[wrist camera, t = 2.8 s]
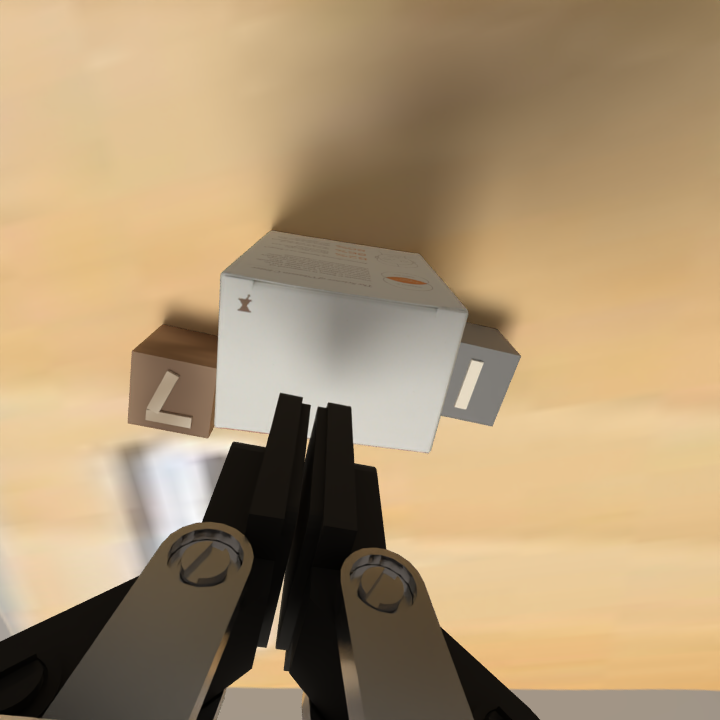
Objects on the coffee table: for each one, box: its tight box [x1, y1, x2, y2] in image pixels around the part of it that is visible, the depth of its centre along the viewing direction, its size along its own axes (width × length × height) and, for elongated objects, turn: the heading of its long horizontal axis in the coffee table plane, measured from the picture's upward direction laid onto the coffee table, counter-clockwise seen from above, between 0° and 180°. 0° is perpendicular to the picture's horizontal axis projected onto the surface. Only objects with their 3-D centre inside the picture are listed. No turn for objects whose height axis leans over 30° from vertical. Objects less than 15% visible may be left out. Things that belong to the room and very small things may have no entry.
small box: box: [214, 231, 468, 453], centre depth 20 cm, size 8×6×10 cm
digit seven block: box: [128, 325, 218, 438], centre depth 25 cm, size 4×4×4 cm
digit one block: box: [441, 322, 521, 426], centre depth 25 cm, size 4×4×4 cm
